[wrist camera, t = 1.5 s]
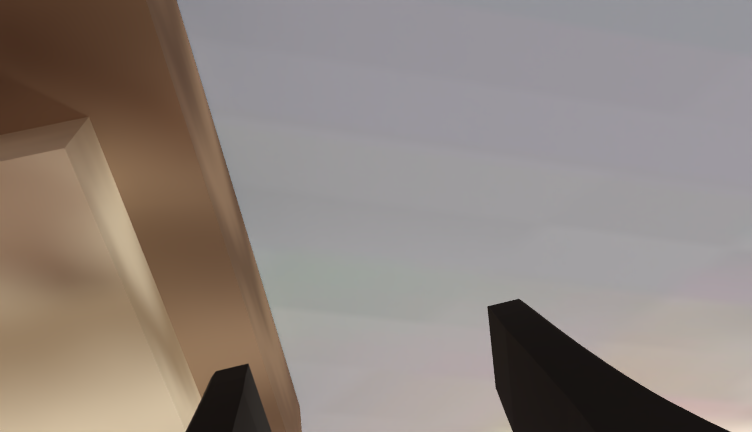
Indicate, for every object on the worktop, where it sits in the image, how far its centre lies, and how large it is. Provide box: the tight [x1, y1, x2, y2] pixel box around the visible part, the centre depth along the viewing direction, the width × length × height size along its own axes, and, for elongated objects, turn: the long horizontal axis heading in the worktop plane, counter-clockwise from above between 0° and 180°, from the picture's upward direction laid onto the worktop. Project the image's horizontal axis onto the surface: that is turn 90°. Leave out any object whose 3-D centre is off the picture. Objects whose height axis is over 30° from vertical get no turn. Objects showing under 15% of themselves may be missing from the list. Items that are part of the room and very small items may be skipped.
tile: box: [0, 117, 201, 432], centre depth 15 cm, size 9×6×2 cm, turn 9°
